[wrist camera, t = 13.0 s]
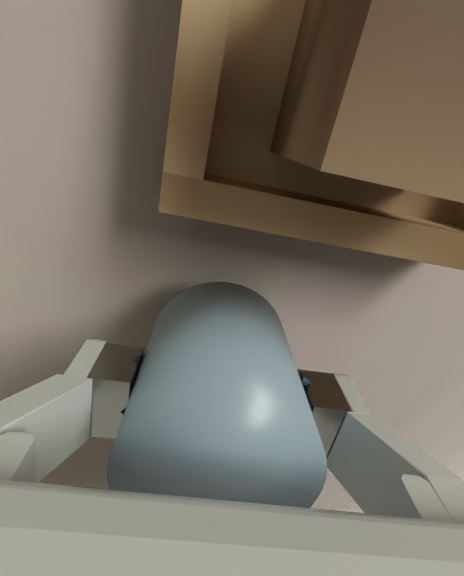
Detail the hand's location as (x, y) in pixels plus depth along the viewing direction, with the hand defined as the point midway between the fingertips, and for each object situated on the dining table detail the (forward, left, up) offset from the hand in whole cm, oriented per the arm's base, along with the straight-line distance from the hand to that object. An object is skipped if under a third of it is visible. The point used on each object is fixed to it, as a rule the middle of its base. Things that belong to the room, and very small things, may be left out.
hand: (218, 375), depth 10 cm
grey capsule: (0, 0, -2) cm, 2 cm away
